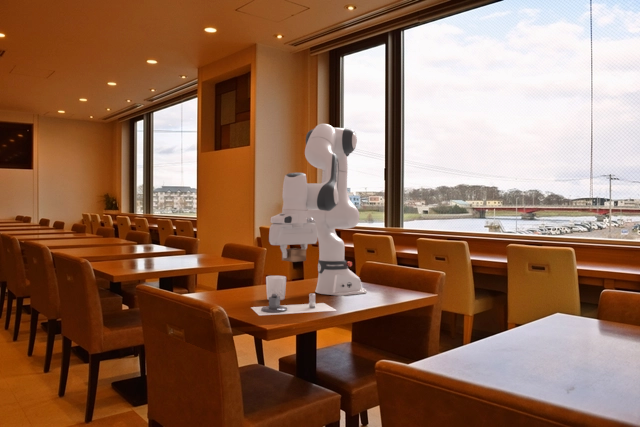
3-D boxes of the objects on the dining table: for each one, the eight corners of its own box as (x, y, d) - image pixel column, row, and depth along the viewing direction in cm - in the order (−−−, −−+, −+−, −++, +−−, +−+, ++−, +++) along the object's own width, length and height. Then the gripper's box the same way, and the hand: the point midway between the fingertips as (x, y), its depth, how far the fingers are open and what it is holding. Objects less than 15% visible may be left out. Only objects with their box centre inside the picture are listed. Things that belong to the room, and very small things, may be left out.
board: (323, 306, 194) (323, 303, 194) (337, 314, 181) (337, 310, 181) (250, 311, 185) (250, 307, 184) (259, 319, 171) (259, 315, 171)
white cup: (290, 302, 202) (290, 277, 202) (275, 305, 196) (275, 279, 196) (276, 299, 208) (276, 274, 207) (261, 302, 202) (261, 276, 202)
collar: (294, 259, 186) (294, 248, 186) (305, 260, 182) (306, 249, 182) (281, 260, 182) (282, 249, 182) (293, 261, 177) (293, 250, 177)
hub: (283, 306, 186) (283, 291, 186) (290, 311, 177) (290, 295, 177) (258, 308, 183) (259, 292, 183) (264, 313, 174) (264, 296, 174)
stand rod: (314, 306, 186) (314, 293, 186) (316, 308, 184) (316, 294, 184) (308, 307, 186) (308, 293, 185) (310, 308, 183) (310, 294, 183)
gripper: (309, 218, 191) (308, 255, 191) (266, 217, 177) (265, 258, 177) (321, 218, 187) (320, 256, 187) (278, 218, 172) (277, 259, 172)
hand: (293, 257), depth 182 cm, fingers closed on collar, 6 cm apart
